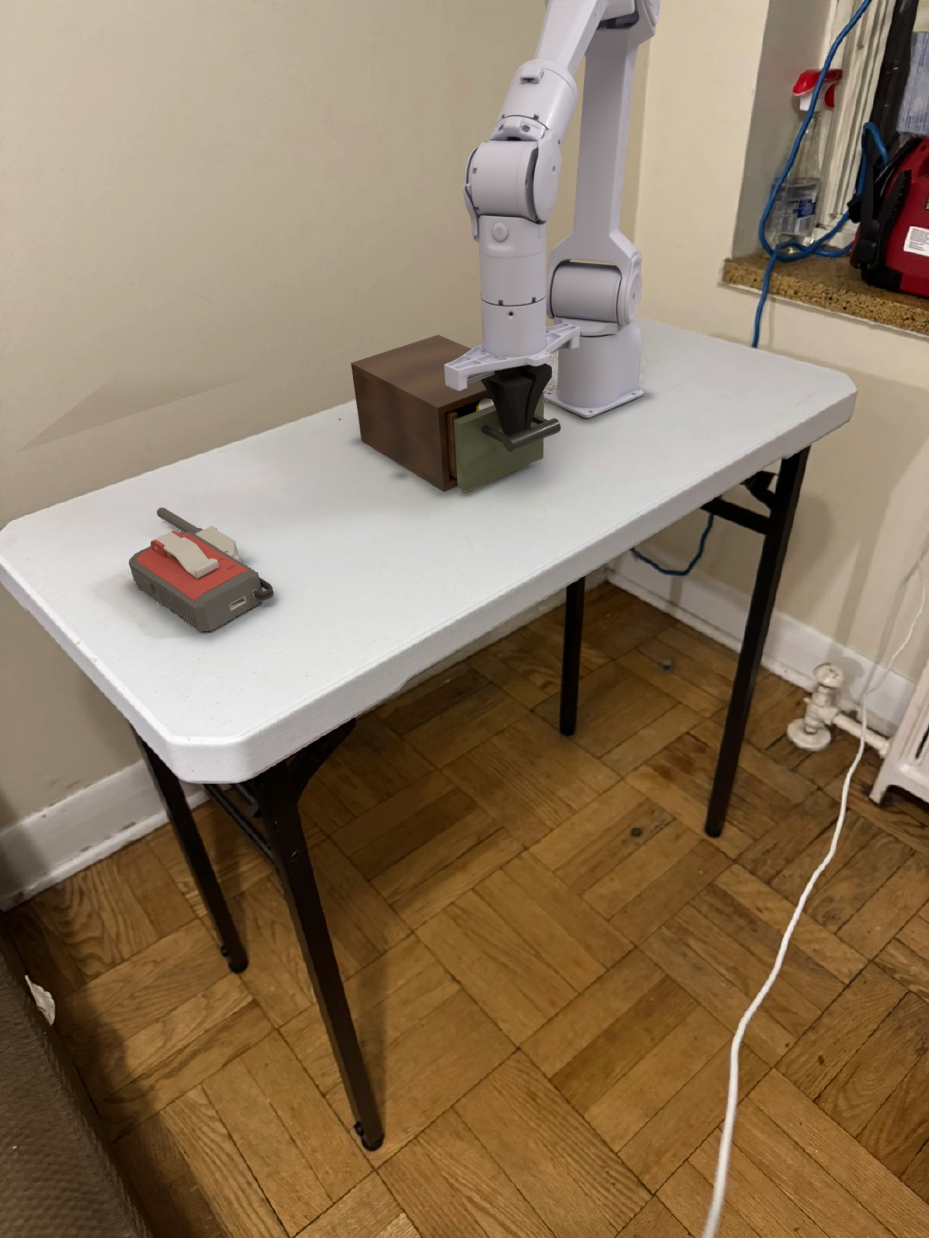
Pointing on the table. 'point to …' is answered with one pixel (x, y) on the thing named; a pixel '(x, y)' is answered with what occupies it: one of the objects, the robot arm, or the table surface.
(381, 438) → the cabinet
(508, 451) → the drawer
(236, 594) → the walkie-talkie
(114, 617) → the table surface
